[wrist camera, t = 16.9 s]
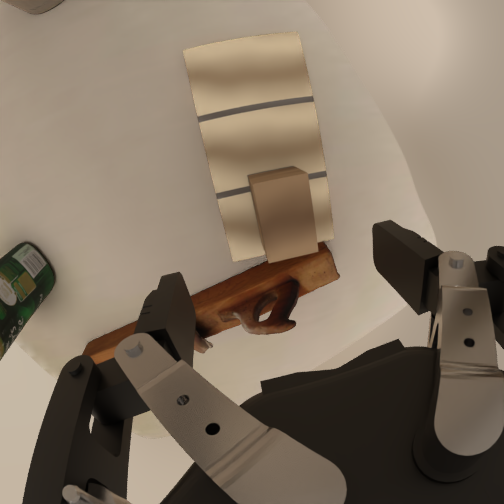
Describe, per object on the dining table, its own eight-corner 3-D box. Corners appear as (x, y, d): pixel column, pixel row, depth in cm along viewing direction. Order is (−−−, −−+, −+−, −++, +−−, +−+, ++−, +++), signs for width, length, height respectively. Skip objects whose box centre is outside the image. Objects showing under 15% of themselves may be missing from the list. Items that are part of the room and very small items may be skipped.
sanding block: (247, 174, 27) (252, 184, 22) (293, 165, 27) (307, 173, 22) (261, 242, 30) (268, 263, 25) (303, 232, 30) (318, 251, 25)
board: (184, 53, 23) (182, 50, 21) (293, 35, 23) (297, 31, 21) (232, 256, 32) (233, 262, 30) (329, 234, 32) (334, 238, 30)
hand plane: (313, 223, 31) (349, 262, 22) (330, 260, 33) (366, 308, 24) (86, 341, 35) (63, 393, 26) (110, 366, 37) (93, 418, 28)
